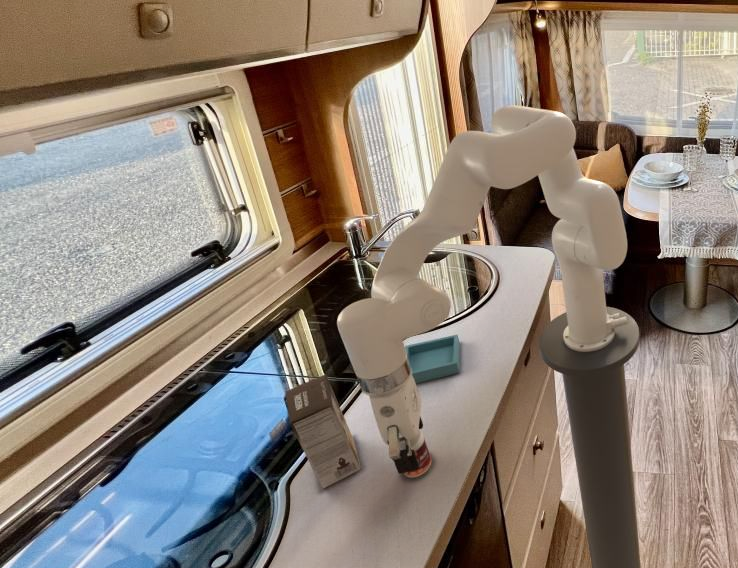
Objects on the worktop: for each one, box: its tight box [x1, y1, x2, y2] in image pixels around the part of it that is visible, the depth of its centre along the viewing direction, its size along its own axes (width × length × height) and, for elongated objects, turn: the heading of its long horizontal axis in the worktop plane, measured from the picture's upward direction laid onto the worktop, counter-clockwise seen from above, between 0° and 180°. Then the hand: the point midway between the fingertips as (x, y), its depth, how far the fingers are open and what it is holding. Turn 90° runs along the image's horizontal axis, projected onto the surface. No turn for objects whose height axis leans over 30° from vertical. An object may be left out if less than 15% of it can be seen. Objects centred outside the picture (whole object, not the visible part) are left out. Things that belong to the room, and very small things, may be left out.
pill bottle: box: [399, 429, 433, 478], centre depth 87 cm, size 5×5×8 cm
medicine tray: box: [404, 334, 461, 384], centre depth 112 cm, size 12×11×3 cm
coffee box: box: [285, 374, 361, 489], centre depth 87 cm, size 9×6×16 cm
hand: (411, 448), depth 87 cm, fingers open, 8 cm apart
